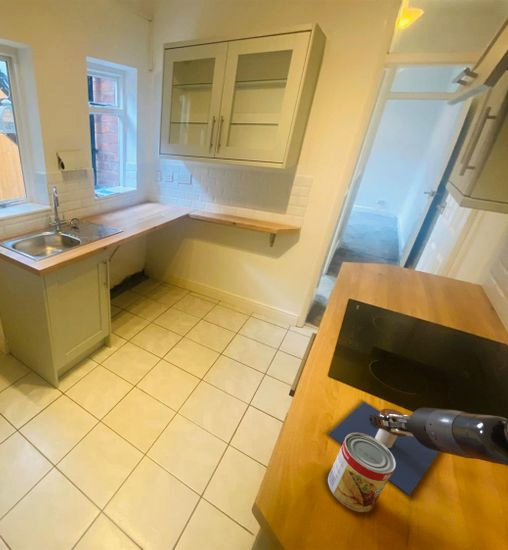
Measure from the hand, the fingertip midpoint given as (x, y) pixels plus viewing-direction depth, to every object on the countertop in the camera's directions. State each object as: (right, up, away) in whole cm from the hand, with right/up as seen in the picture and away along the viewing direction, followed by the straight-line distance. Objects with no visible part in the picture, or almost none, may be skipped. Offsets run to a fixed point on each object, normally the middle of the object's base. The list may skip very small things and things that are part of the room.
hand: (385, 421), depth 70 cm
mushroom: (0, -5, 0) cm, 5 cm away
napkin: (0, -5, +1) cm, 5 cm away
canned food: (-15, -10, -9) cm, 20 cm away
